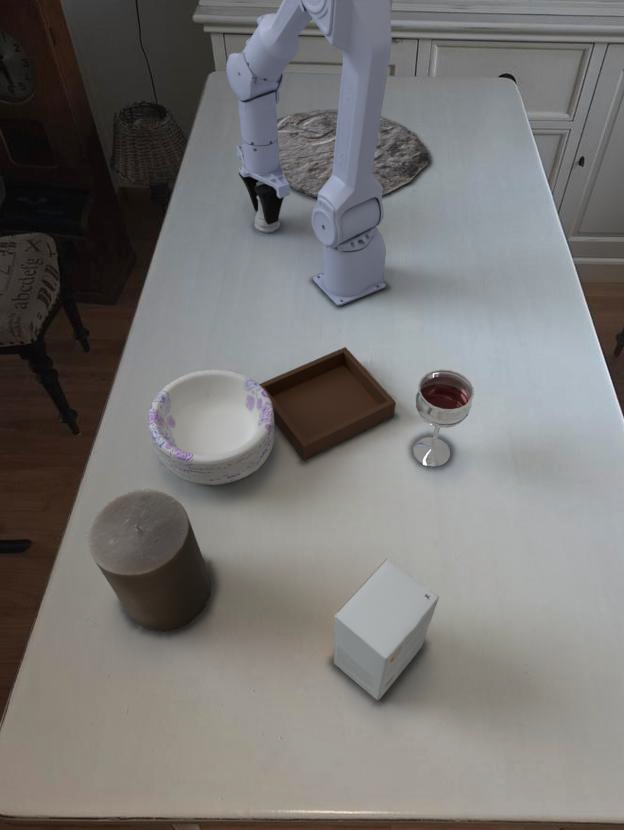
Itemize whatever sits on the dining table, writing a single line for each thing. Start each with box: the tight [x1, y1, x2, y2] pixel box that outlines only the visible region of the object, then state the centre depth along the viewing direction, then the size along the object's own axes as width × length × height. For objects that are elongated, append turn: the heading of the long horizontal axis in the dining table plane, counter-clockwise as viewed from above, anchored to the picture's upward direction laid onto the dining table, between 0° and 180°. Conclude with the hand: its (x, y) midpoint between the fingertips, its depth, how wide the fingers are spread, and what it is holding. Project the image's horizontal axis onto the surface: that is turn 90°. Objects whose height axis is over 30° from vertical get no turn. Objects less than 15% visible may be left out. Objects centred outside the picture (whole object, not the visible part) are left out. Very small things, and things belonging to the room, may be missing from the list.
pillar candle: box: [85, 488, 212, 632], centre depth 65 cm, size 10×10×15 cm
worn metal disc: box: [277, 109, 430, 199], centre depth 127 cm, size 33×35×1 cm
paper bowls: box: [147, 368, 276, 486], centre depth 80 cm, size 15×15×8 cm
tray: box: [258, 346, 397, 461], centre depth 87 cm, size 15×13×3 cm
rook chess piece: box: [254, 181, 281, 234], centre depth 109 cm, size 4×4×8 cm
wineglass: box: [412, 369, 475, 467], centre depth 79 cm, size 7×7×12 cm
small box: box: [333, 558, 440, 701], centre depth 63 cm, size 8×6×13 cm
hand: (266, 216), depth 110 cm, fingers closed on rook chess piece, 3 cm apart
